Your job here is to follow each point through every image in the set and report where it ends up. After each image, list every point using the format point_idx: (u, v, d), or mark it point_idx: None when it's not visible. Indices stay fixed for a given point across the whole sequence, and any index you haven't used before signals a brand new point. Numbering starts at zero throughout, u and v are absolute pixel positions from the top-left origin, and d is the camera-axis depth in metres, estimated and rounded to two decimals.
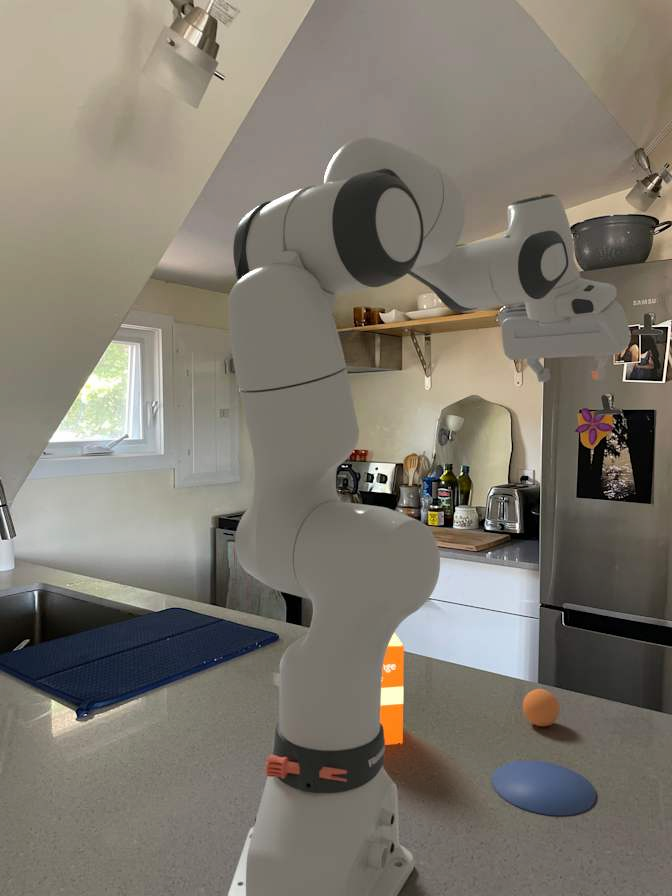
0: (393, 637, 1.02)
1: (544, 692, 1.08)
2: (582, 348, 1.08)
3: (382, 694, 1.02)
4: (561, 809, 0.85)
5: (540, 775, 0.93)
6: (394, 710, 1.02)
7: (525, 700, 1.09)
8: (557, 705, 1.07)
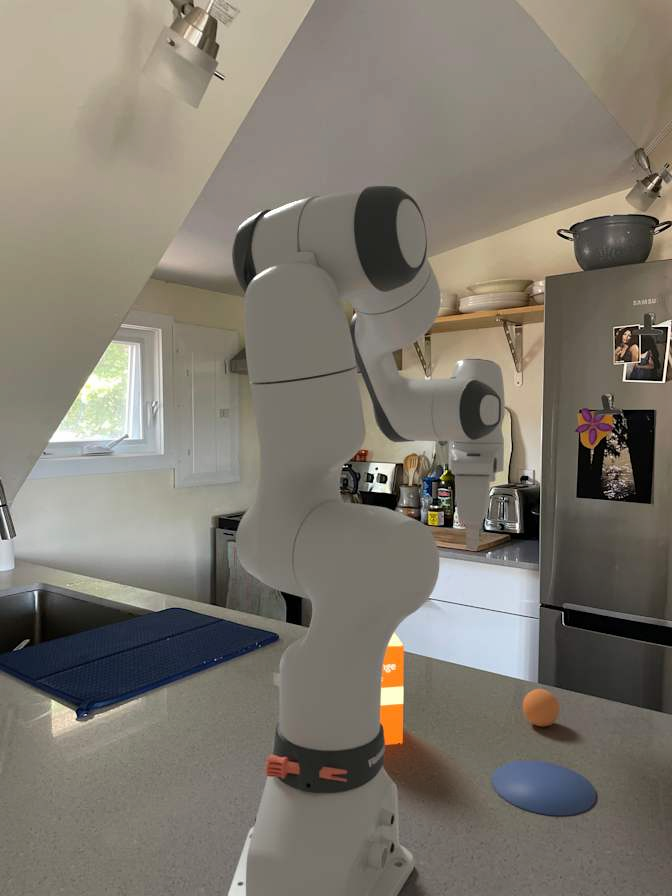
0: (393, 637, 1.02)
1: (544, 692, 1.08)
2: None
3: (382, 694, 1.02)
4: (561, 809, 0.85)
5: (540, 775, 0.93)
6: (394, 710, 1.02)
7: (525, 700, 1.09)
8: (557, 705, 1.07)
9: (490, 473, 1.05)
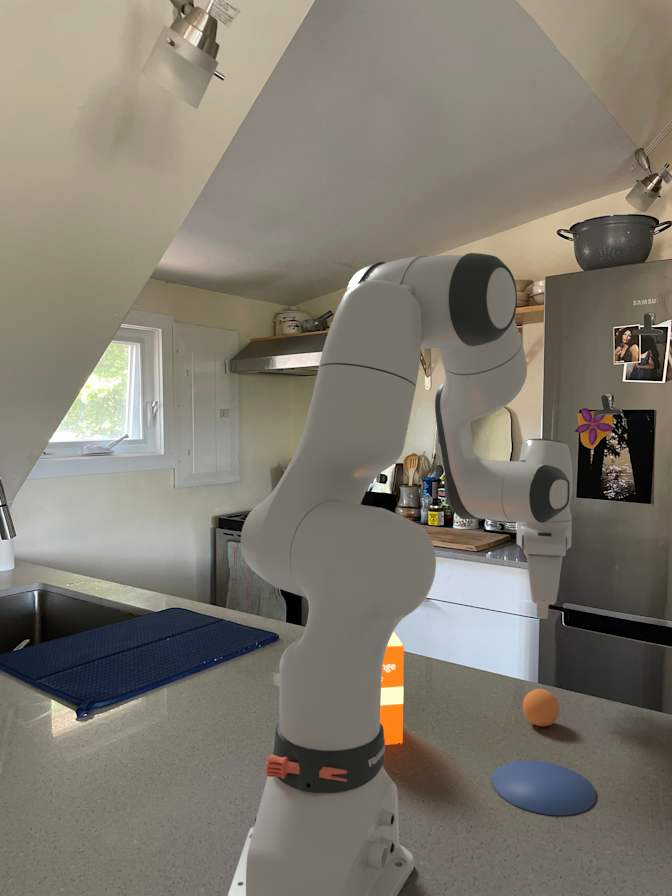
0: (393, 637, 1.02)
1: (544, 692, 1.08)
2: None
3: (382, 694, 1.02)
4: (561, 809, 0.85)
5: (540, 775, 0.93)
6: (394, 710, 1.02)
7: (525, 700, 1.09)
8: (557, 705, 1.07)
9: (563, 554, 1.08)
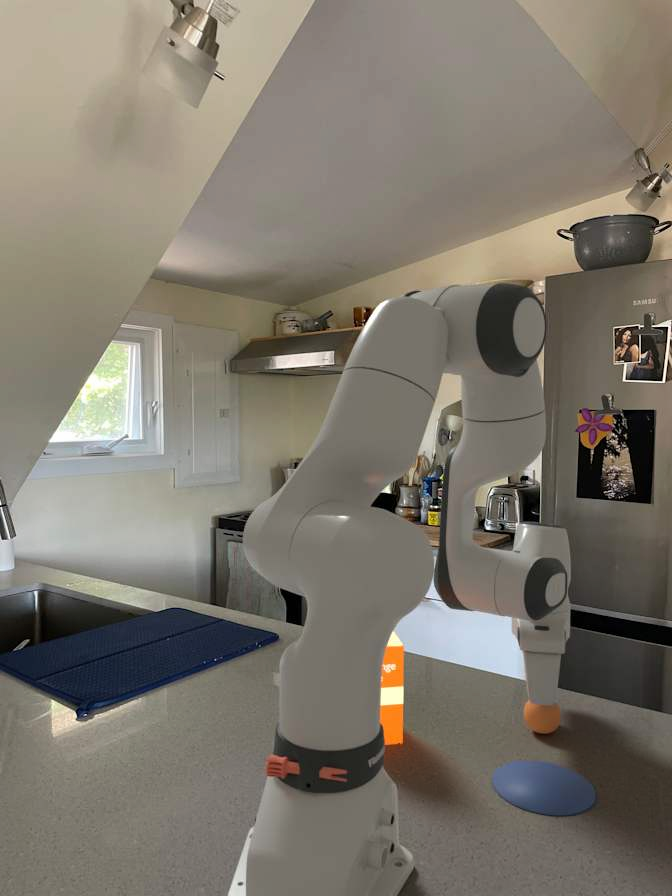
0: (393, 637, 1.02)
1: (545, 707, 1.05)
2: None
3: (382, 694, 1.02)
4: (561, 809, 0.85)
5: (540, 775, 0.93)
6: (394, 710, 1.02)
7: (526, 712, 1.06)
8: (558, 718, 1.05)
9: (562, 652, 1.01)
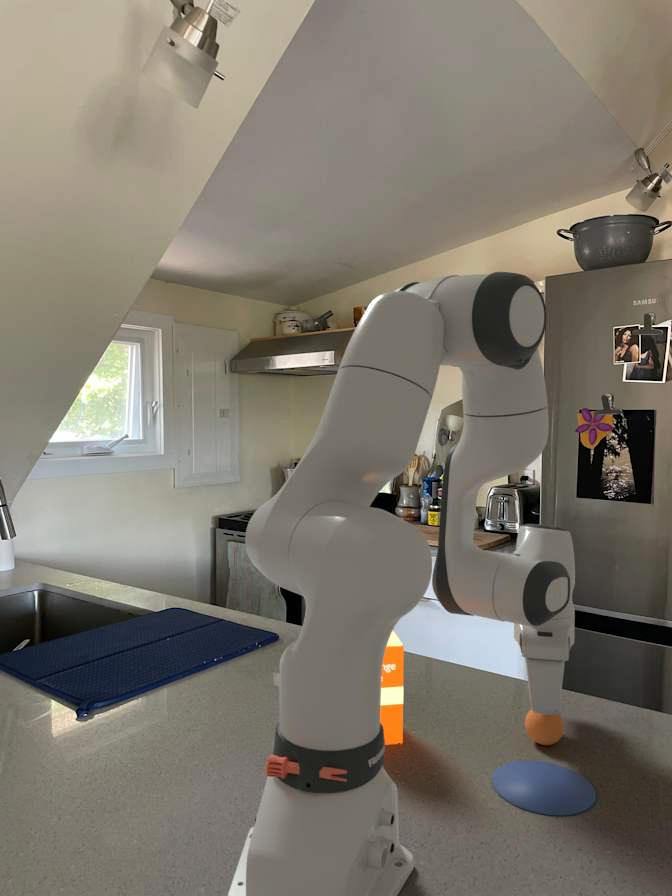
0: (393, 637, 1.02)
1: (547, 729, 1.00)
2: None
3: (382, 694, 1.02)
4: (561, 809, 0.85)
5: (540, 775, 0.93)
6: (394, 710, 1.02)
7: (527, 726, 1.03)
8: (560, 736, 1.01)
9: (565, 659, 0.97)
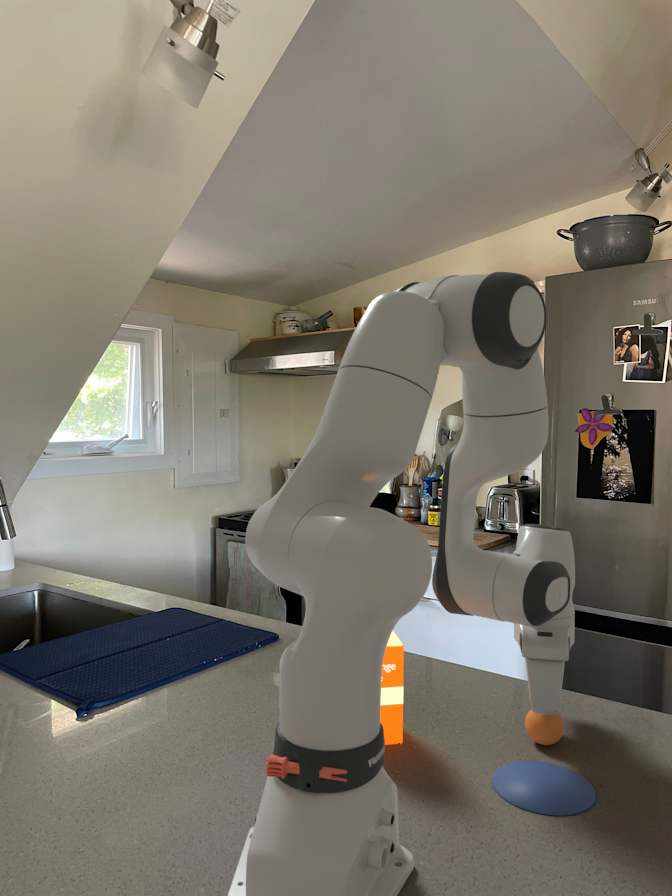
0: (393, 637, 1.02)
1: (547, 729, 1.00)
2: None
3: (382, 694, 1.02)
4: (561, 809, 0.85)
5: (540, 775, 0.93)
6: (394, 710, 1.02)
7: (527, 726, 1.03)
8: (560, 736, 1.01)
9: (565, 659, 0.97)
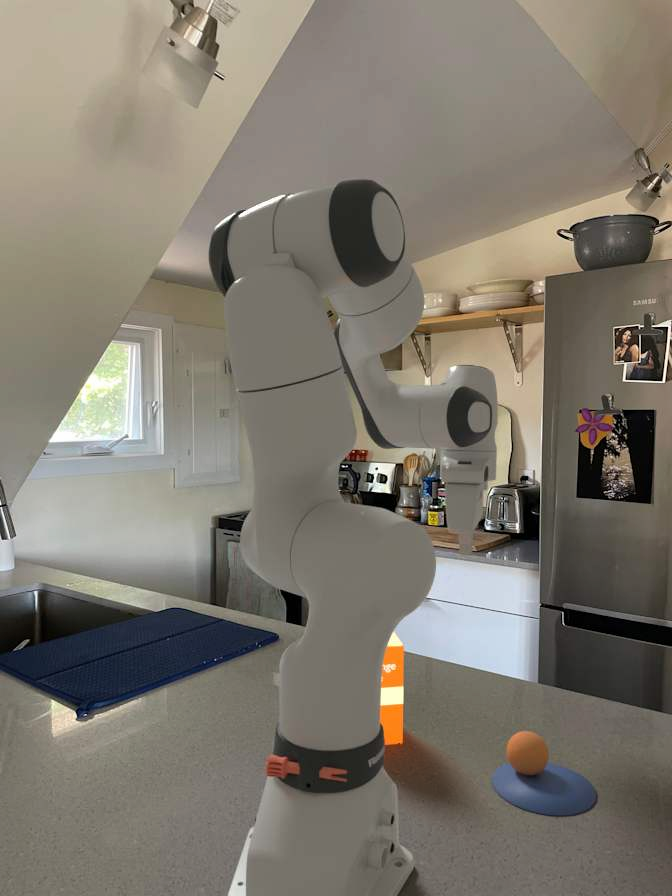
0: (393, 637, 1.02)
1: None
2: None
3: (382, 694, 1.02)
4: (561, 809, 0.85)
5: (540, 775, 0.93)
6: (394, 710, 1.02)
7: None
8: (547, 748, 0.93)
9: (481, 482, 1.03)
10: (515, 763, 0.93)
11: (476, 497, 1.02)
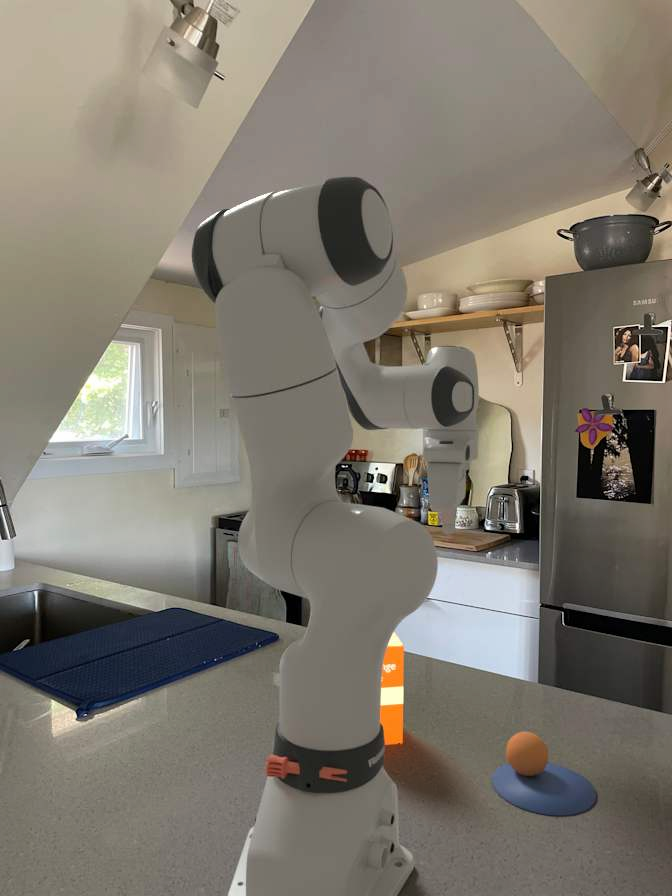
0: (393, 637, 1.02)
1: None
2: None
3: (382, 694, 1.02)
4: (561, 809, 0.85)
5: (540, 775, 0.93)
6: (394, 710, 1.02)
7: None
8: (546, 749, 0.93)
9: (462, 460, 1.04)
10: (515, 765, 0.92)
11: (458, 476, 1.04)
